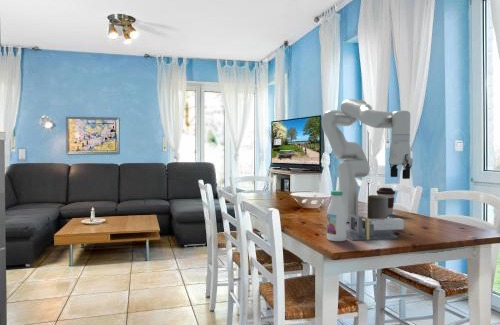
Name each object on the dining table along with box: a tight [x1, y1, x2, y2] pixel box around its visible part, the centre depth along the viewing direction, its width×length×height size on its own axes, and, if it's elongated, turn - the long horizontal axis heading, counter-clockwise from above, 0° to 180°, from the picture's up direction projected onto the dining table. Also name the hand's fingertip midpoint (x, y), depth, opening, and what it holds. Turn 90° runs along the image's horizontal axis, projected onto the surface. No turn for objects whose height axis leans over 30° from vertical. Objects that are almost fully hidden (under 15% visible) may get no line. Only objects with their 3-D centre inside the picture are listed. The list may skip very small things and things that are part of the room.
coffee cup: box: [376, 187, 396, 216], centre depth 209 cm, size 10×10×15 cm
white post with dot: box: [369, 217, 405, 231], centre depth 157 cm, size 4×14×4 cm, turn 98°
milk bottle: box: [326, 190, 347, 242], centre depth 151 cm, size 8×8×20 cm
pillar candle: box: [366, 193, 389, 219], centre depth 183 cm, size 10×10×15 cm
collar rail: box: [346, 213, 399, 241], centre depth 156 cm, size 12×20×9 cm, turn 98°
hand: (399, 177), depth 163 cm, fingers open, 9 cm apart
